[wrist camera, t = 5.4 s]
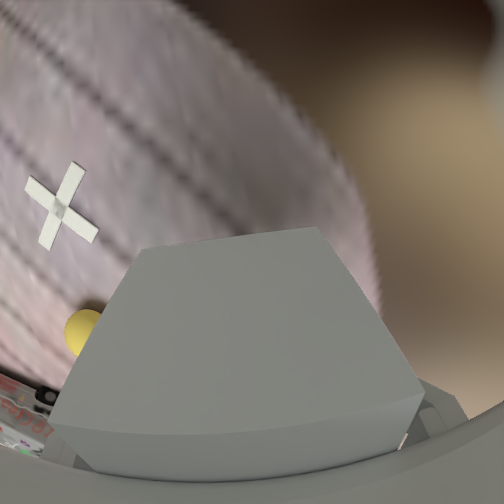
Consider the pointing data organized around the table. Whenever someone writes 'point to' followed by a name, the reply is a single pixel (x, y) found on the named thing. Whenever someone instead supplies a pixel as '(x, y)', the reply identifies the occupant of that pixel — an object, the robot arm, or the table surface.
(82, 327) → the ball
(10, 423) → the toy car
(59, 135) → the table surface
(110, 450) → the grey block
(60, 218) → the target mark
